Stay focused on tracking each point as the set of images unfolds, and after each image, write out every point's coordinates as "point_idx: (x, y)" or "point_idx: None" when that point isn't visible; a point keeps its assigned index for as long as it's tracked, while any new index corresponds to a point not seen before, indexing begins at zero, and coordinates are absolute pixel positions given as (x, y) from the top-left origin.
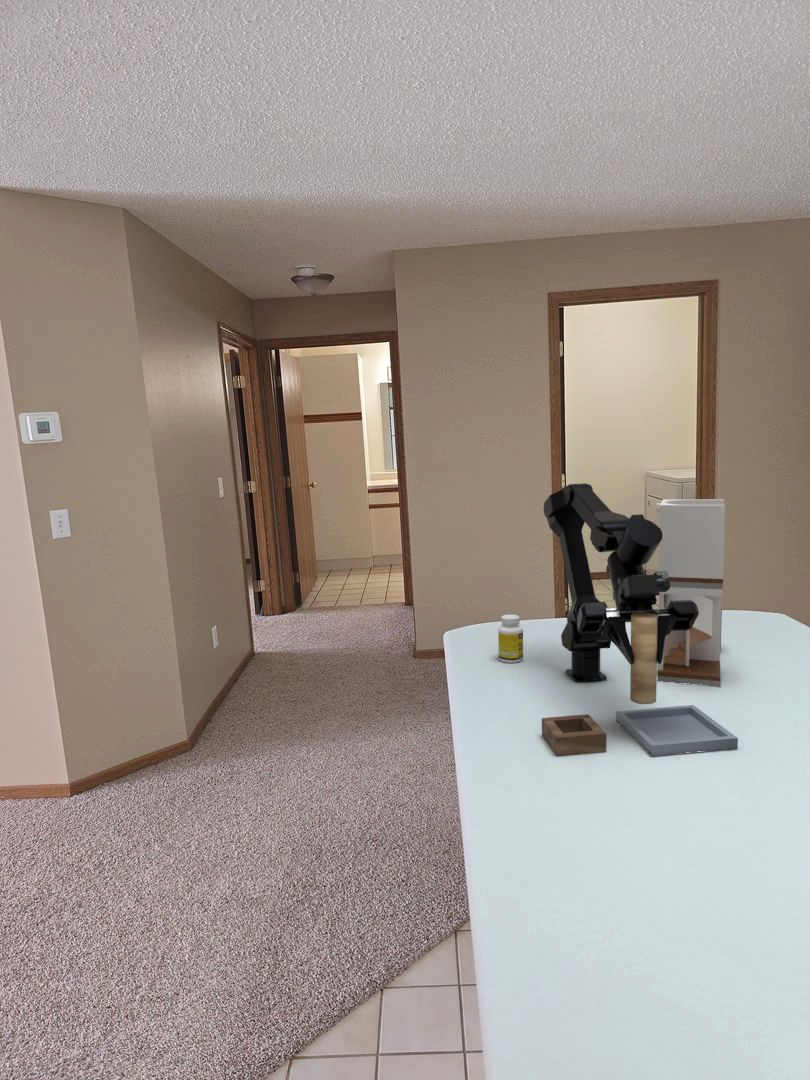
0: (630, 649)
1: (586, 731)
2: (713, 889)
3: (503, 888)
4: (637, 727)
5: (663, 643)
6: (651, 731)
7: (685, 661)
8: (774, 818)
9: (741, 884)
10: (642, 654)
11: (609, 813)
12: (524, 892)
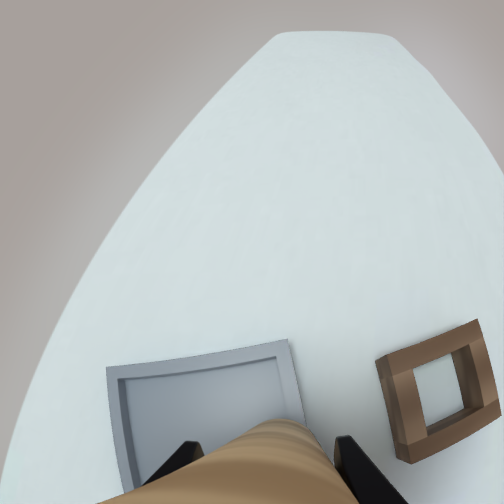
0: (358, 482)
1: (427, 360)
2: (283, 87)
3: (433, 92)
4: None
5: None
6: None
7: None
8: (174, 172)
9: (258, 92)
10: (291, 439)
11: (372, 167)
12: (419, 88)
